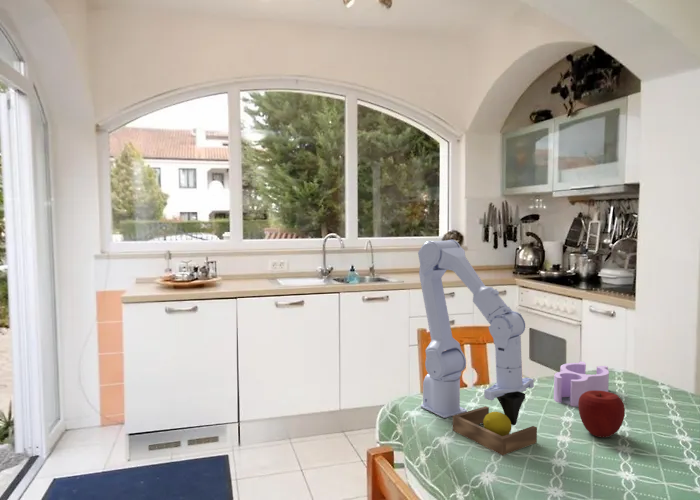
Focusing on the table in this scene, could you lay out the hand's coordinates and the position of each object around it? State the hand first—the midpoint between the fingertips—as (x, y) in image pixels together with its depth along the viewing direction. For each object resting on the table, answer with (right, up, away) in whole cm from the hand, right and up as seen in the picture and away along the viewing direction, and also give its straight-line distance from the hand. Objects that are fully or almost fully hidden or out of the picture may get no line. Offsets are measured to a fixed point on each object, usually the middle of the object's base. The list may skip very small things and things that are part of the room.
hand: (511, 423), depth 117 cm
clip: (+27, -1, +25) cm, 37 cm away
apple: (+21, -3, 0) cm, 21 cm away
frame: (-4, -3, -1) cm, 5 cm away
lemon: (-1, -1, +1) cm, 1 cm away
